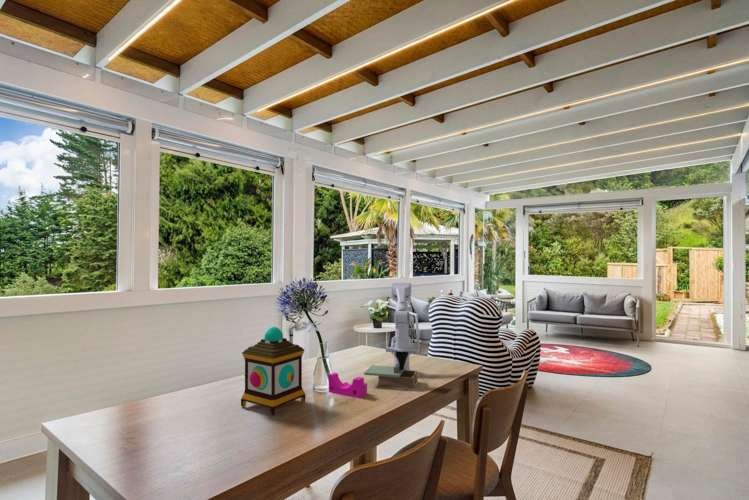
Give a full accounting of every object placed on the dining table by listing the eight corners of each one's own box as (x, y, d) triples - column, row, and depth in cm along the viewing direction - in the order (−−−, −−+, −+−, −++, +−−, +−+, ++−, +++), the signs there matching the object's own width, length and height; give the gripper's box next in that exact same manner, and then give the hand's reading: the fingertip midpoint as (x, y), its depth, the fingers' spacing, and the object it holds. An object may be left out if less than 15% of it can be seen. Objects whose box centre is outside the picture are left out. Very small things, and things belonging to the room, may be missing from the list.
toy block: (367, 394, 176) (367, 376, 176) (358, 398, 170) (358, 379, 170) (337, 388, 183) (337, 371, 183) (328, 392, 178) (328, 374, 178)
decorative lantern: (272, 419, 149) (272, 333, 149) (235, 408, 160) (235, 327, 160) (310, 402, 166) (310, 325, 166) (274, 393, 176) (274, 320, 177)
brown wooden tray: (385, 379, 196) (385, 368, 196) (417, 382, 192) (417, 370, 192) (378, 387, 184) (378, 375, 184) (412, 390, 180) (412, 378, 180)
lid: (371, 367, 198) (371, 360, 198) (404, 369, 194) (404, 362, 194) (364, 374, 185) (364, 367, 185) (399, 377, 181) (399, 369, 181)
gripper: (384, 339, 186) (384, 370, 186) (417, 340, 182) (417, 372, 182) (387, 336, 192) (387, 366, 192) (419, 337, 189) (419, 368, 189)
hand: (402, 369), depth 188 cm, fingers closed
